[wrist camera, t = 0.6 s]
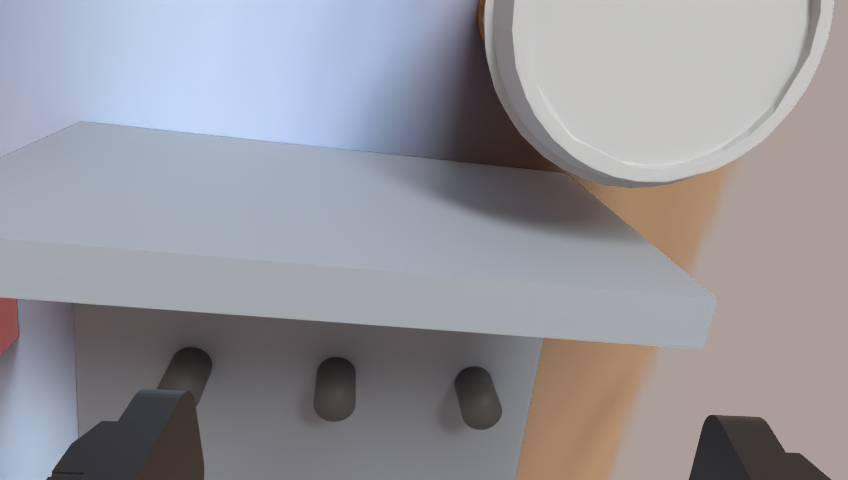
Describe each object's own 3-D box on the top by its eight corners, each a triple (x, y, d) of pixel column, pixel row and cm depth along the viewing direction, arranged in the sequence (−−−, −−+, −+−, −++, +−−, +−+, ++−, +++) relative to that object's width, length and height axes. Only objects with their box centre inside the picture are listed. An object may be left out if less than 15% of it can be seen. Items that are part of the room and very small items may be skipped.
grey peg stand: (80, 121, 29) (-153, 225, 15) (566, 173, 31) (717, 299, 18) (91, 467, 34) (-75, 761, 21) (504, 486, 37) (586, 757, 24)
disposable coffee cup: (680, -102, 28) (899, -170, 17) (639, 131, 31) (801, 206, 20) (448, -125, 27) (516, -215, 16) (430, 119, 30) (475, 191, 19)
